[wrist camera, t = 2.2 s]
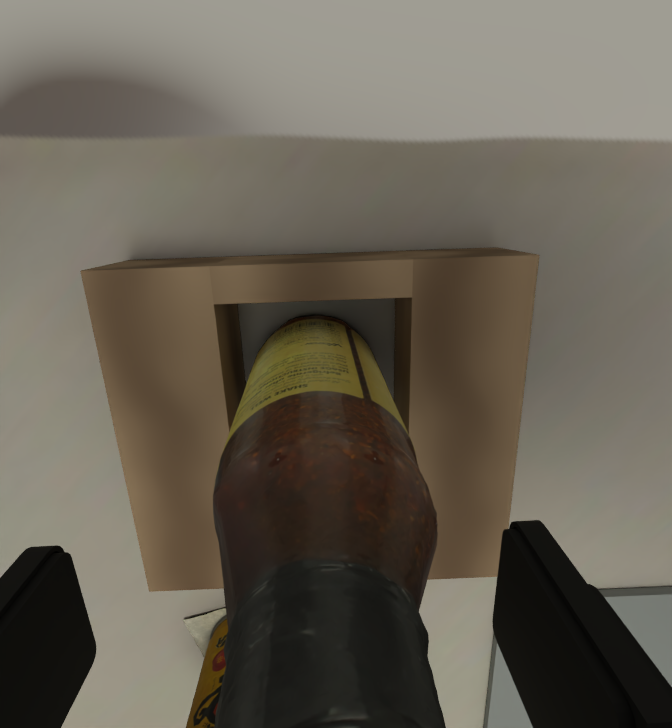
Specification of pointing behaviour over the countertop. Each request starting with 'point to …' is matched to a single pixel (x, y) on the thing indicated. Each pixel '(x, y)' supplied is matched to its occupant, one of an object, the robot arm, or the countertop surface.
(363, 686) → the sauce bottle
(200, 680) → the condiment
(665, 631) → the rubber mat
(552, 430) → the countertop surface
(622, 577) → the countertop surface
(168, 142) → the countertop surface
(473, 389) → the socket block
